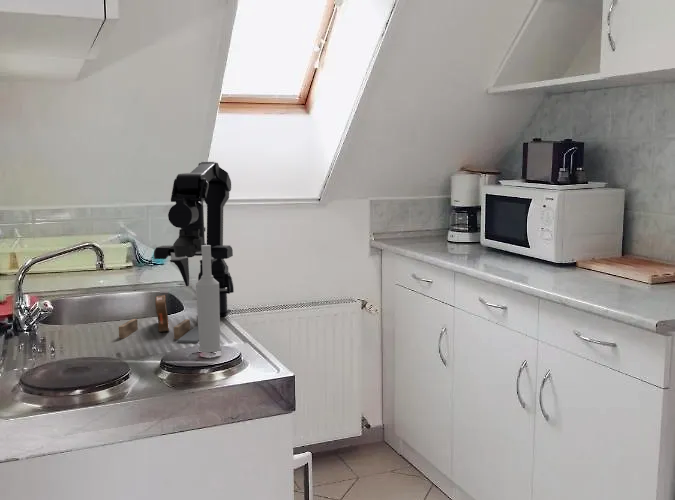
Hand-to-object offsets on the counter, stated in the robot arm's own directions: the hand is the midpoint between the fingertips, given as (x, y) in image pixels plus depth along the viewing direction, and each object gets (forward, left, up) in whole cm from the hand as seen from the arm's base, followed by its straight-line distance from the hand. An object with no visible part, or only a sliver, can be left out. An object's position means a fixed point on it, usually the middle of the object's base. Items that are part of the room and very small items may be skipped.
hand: (194, 286), depth 175 cm
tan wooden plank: (0, -11, -12) cm, 17 cm away
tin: (-7, -11, -13) cm, 18 cm away
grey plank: (0, 0, -12) cm, 13 cm away
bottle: (+19, +9, -13) cm, 25 cm away
